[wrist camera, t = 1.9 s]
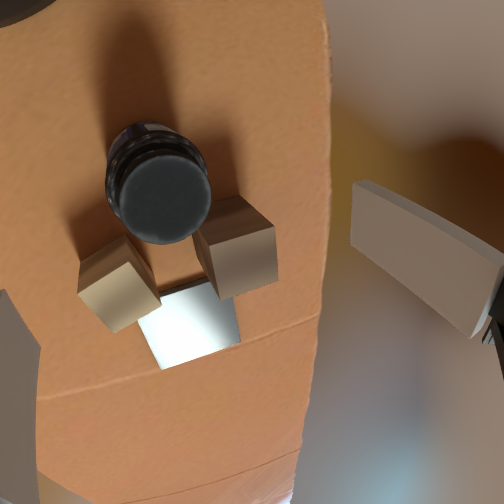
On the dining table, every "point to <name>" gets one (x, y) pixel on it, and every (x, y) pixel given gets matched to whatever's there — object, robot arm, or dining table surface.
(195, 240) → the walnut block
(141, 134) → the pill bottle
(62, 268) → the dining table surface
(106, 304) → the oak block
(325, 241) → the dining table surface
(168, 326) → the slate coaster
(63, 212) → the dining table surface
